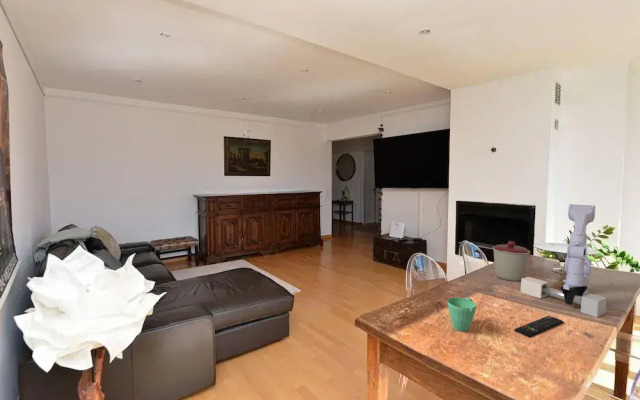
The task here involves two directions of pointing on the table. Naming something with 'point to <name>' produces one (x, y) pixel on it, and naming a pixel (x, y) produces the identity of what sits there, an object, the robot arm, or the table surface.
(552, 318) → the remote control
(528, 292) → the sleeve
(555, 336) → the table surface
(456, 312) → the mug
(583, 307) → the socket
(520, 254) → the canister
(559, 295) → the tube
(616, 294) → the table surface
